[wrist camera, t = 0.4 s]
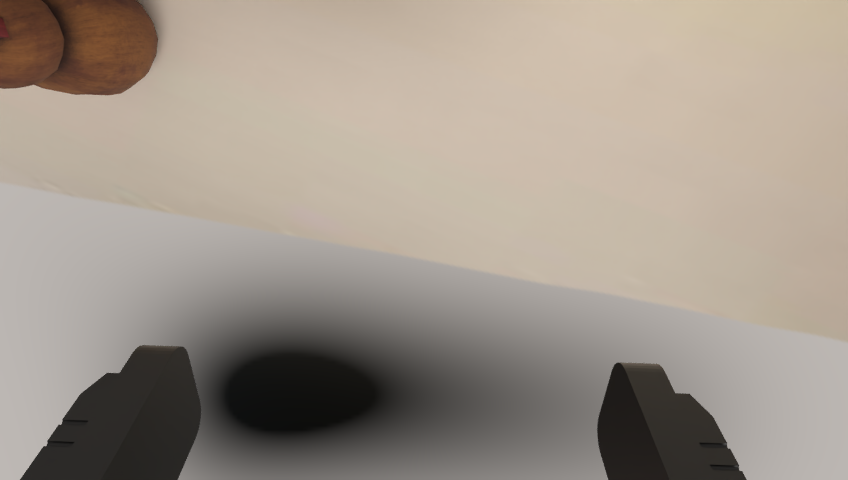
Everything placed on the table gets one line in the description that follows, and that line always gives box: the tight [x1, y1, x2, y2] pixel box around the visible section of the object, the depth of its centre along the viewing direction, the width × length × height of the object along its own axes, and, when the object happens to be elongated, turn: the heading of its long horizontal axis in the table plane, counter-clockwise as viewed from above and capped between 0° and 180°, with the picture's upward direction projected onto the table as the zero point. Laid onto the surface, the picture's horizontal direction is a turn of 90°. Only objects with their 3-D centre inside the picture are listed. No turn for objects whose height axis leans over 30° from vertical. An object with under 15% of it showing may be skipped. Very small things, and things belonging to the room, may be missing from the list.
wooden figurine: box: [0, 0, 158, 95], centre depth 26 cm, size 7×6×15 cm
